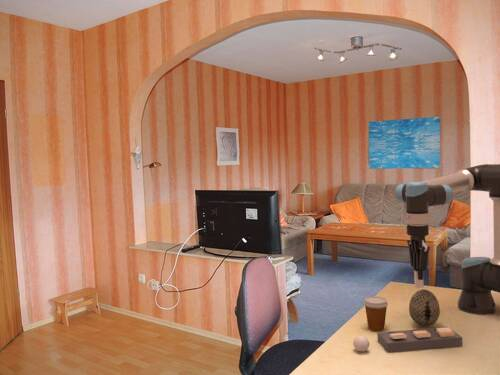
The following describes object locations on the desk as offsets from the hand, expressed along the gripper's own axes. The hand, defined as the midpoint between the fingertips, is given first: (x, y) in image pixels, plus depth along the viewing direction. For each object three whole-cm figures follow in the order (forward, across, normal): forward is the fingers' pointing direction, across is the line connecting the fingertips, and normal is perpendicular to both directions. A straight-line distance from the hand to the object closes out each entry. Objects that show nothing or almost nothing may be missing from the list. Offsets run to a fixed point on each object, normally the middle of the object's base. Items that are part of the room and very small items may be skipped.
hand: (419, 287), depth 163 cm
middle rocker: (+17, +2, 0) cm, 17 cm away
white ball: (+22, +1, -22) cm, 31 cm away
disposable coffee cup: (+22, -17, -10) cm, 30 cm away
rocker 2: (+17, +2, +9) cm, 19 cm away
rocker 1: (+17, +2, -9) cm, 19 cm away
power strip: (+22, 0, 0) cm, 22 cm away
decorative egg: (+22, -16, +10) cm, 29 cm away
